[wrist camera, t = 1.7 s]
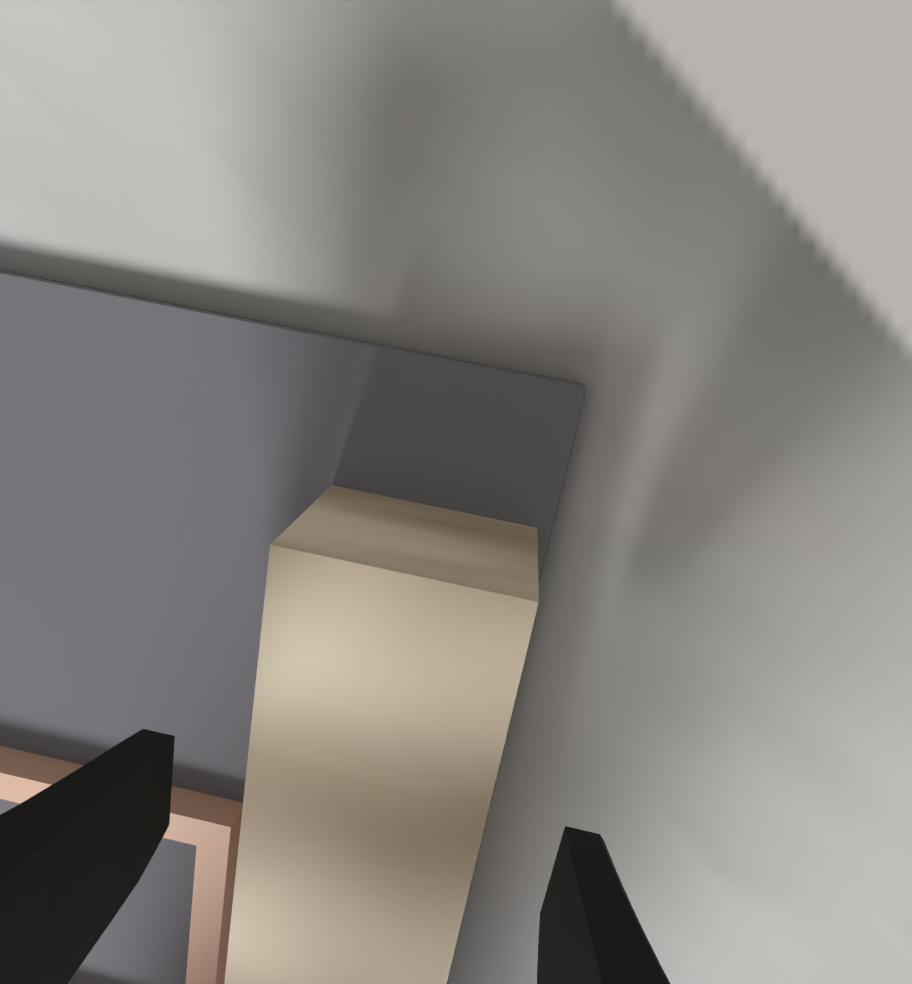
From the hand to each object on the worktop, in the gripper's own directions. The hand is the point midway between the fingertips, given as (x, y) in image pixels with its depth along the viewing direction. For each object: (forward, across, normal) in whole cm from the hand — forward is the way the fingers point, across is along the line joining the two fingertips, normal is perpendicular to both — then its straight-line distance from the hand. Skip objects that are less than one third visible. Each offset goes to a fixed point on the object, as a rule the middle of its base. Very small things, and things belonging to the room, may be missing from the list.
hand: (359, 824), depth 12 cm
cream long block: (+4, 0, 0) cm, 4 cm away
